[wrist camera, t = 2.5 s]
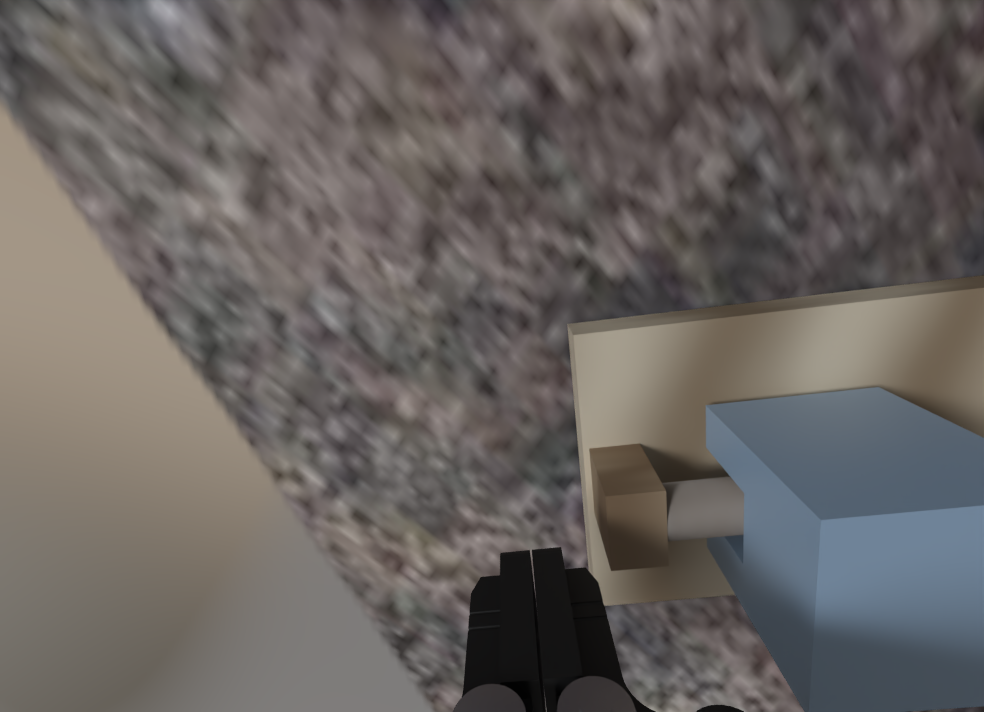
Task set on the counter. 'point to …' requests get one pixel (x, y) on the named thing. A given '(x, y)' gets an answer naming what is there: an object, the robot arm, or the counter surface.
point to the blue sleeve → (858, 547)
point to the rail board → (734, 378)
